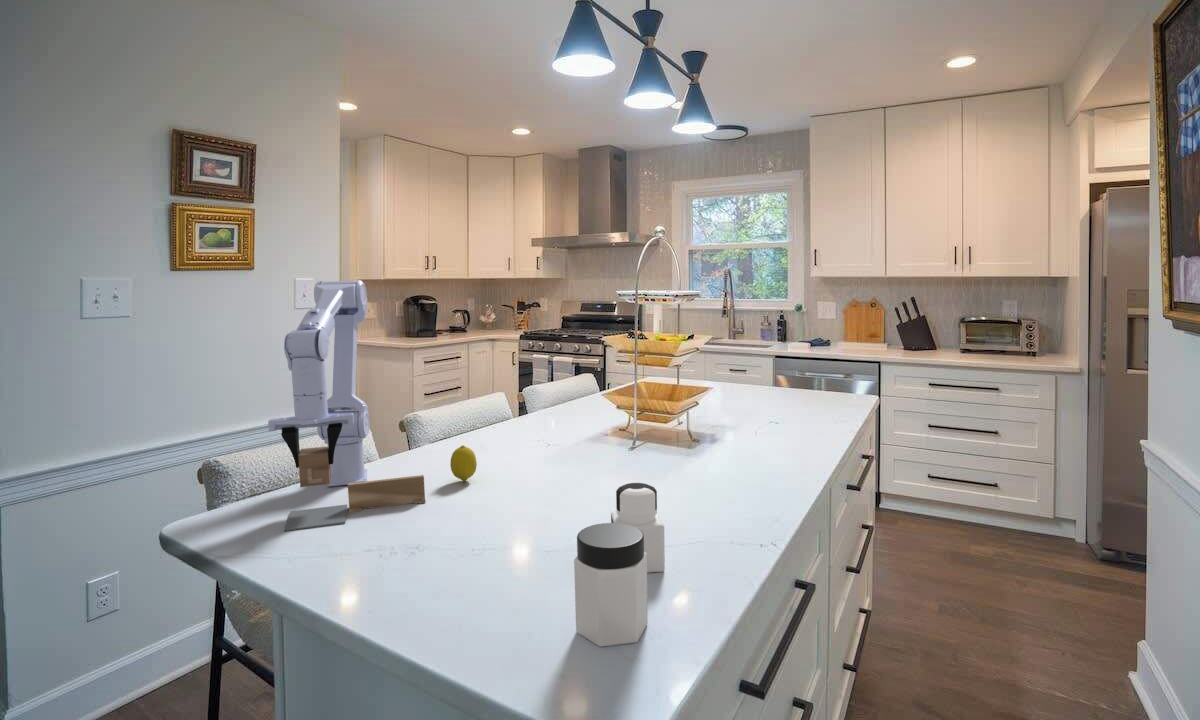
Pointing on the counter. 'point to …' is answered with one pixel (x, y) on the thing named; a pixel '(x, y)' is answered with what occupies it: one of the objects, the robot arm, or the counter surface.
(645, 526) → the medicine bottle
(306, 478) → the letter block
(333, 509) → the mat
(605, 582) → the jar
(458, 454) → the lemon
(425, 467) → the counter surface
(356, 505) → the screen
